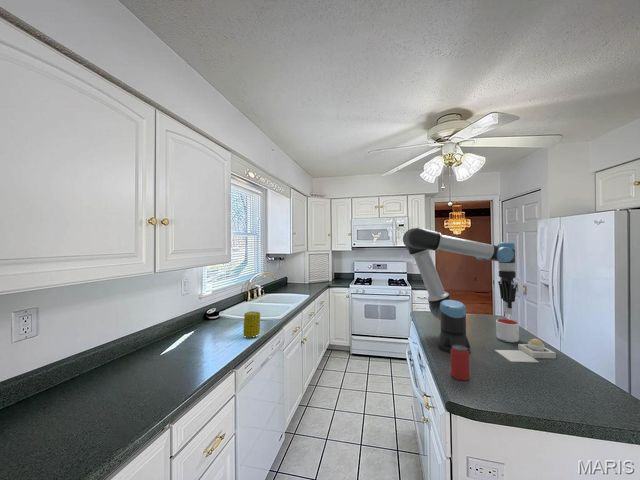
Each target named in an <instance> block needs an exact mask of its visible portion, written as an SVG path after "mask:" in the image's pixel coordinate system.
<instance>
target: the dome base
mask: <svg viewBox="0 0 640 480" xmlns="http://www.w3.org/2000/svg"><path fill="white" fill-rule="evenodd" d="M517 350H521V351H522V352H524V353H526V354H527V355H529V356H531V357H532V358H534V359H557V354H556V352H555V351H553V350H551V349H549V348H547V347H545V346H544V351H532V350H531V349H529V348H528V343H518V345H517Z"/></svg>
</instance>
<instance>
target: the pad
mask: <svg viewBox="0 0 640 480" xmlns="http://www.w3.org/2000/svg"><path fill="white" fill-rule="evenodd" d="M494 351H495V352H496V353H497V354H498V355H500V356H501V357H503V358H504V359H506V360H508V362H510V363H540V361H538V360H537V358H532V357H531V356H529V355H527V354H526V353H524V352H522V351H521V350H519V349H513V350H512V349H495V350H494Z"/></svg>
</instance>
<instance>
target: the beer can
mask: <svg viewBox="0 0 640 480" xmlns="http://www.w3.org/2000/svg"><path fill="white" fill-rule="evenodd" d="M450 375H451V376H452V378H454V379H456V380H459V381H468V380H469V379H470V353H468V350H467V347H465V346H462V345H453V346H452V348H451V353H450Z"/></svg>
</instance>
